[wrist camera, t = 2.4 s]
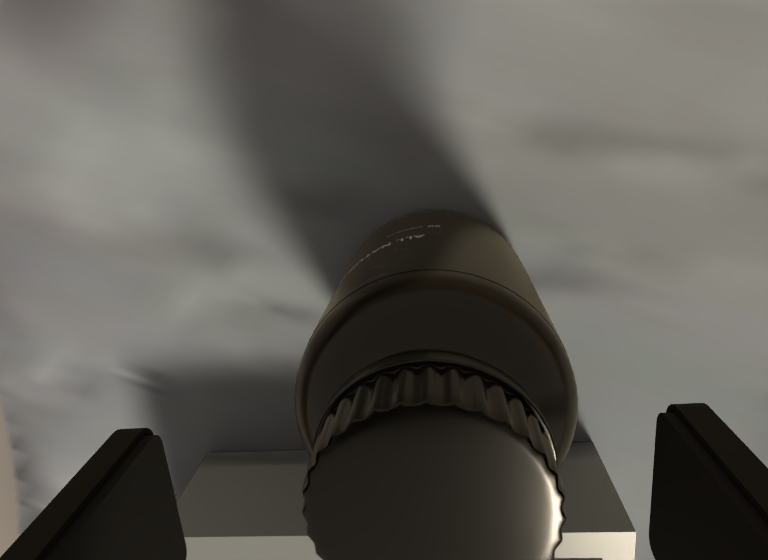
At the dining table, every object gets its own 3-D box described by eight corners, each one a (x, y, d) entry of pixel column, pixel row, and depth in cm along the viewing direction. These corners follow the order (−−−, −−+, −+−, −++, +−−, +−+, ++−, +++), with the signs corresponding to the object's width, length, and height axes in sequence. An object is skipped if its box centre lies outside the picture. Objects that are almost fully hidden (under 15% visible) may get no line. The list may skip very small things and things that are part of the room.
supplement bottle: (384, 176, 20) (326, 270, 9) (558, 250, 21) (719, 434, 9) (318, 338, 22) (200, 585, 11) (476, 404, 23) (524, 709, 11)
